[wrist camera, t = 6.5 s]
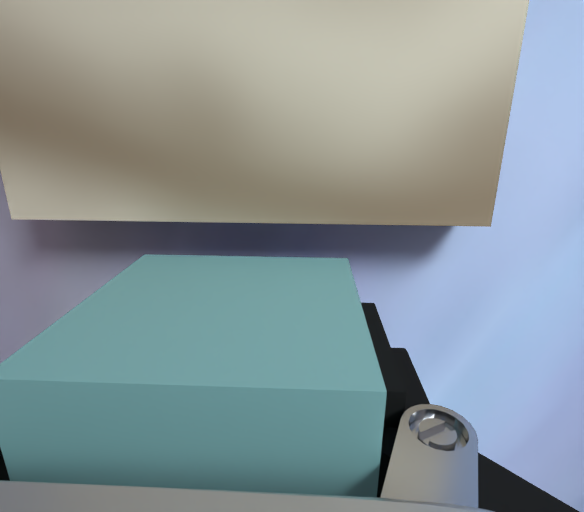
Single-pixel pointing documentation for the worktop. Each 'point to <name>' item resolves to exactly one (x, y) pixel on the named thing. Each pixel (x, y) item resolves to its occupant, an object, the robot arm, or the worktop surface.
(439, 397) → the worktop surface
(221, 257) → the block
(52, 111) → the ticket board
